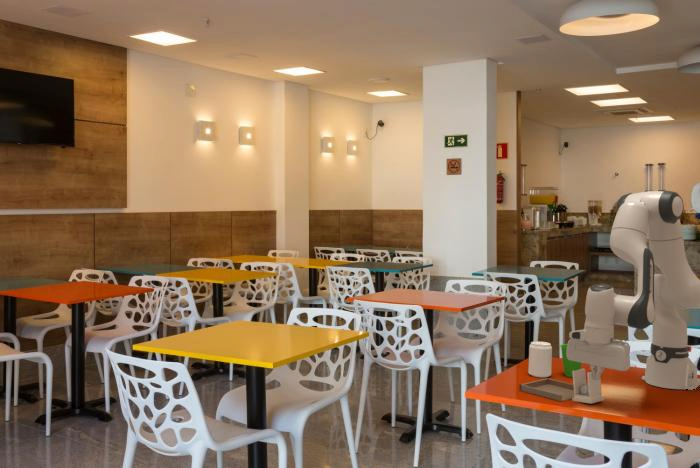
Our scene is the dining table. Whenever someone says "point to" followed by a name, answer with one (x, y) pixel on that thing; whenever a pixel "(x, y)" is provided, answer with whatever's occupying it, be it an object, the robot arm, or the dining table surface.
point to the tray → (549, 389)
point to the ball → (584, 389)
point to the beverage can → (540, 359)
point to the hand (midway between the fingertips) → (596, 379)
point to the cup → (569, 363)
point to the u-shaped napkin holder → (593, 387)
